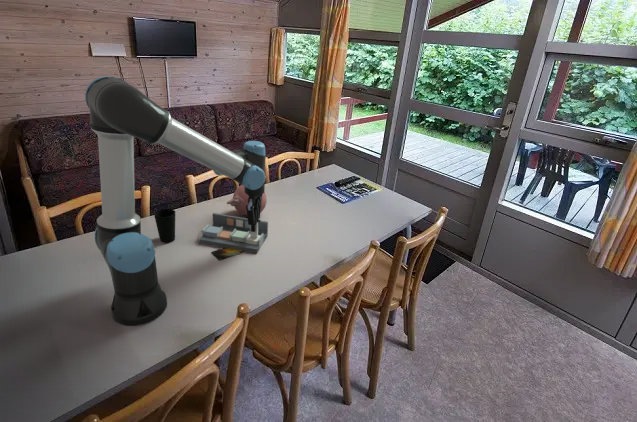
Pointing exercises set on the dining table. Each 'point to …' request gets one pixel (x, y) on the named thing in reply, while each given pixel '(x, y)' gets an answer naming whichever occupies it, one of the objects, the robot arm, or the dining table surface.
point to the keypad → (232, 225)
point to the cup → (165, 224)
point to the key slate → (211, 231)
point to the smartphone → (226, 253)
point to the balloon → (244, 200)
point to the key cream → (252, 240)
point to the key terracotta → (225, 235)
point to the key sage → (239, 236)
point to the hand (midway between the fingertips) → (254, 236)
